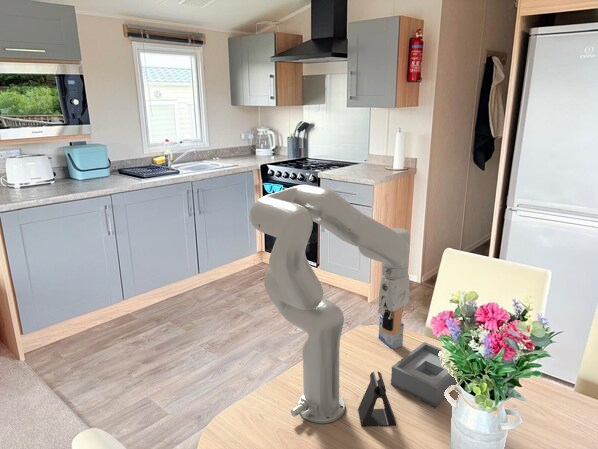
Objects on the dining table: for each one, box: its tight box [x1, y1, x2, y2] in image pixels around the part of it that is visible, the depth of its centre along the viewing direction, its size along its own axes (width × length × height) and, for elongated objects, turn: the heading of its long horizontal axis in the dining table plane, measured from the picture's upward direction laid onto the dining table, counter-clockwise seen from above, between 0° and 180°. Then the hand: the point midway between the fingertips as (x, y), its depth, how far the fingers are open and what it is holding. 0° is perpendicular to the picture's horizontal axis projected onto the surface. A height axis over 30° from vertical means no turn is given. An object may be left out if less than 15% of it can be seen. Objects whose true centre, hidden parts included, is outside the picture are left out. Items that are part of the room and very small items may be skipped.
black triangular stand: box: [357, 371, 397, 428], centre depth 111 cm, size 9×6×12 cm, turn 90°
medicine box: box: [378, 315, 405, 350], centre depth 146 cm, size 8×4×9 cm, turn 25°
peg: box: [382, 306, 403, 336], centre depth 130 cm, size 4×4×10 cm
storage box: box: [390, 341, 457, 408], centre depth 126 cm, size 18×14×6 cm
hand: (391, 326), depth 131 cm, fingers closed on peg, 4 cm apart
